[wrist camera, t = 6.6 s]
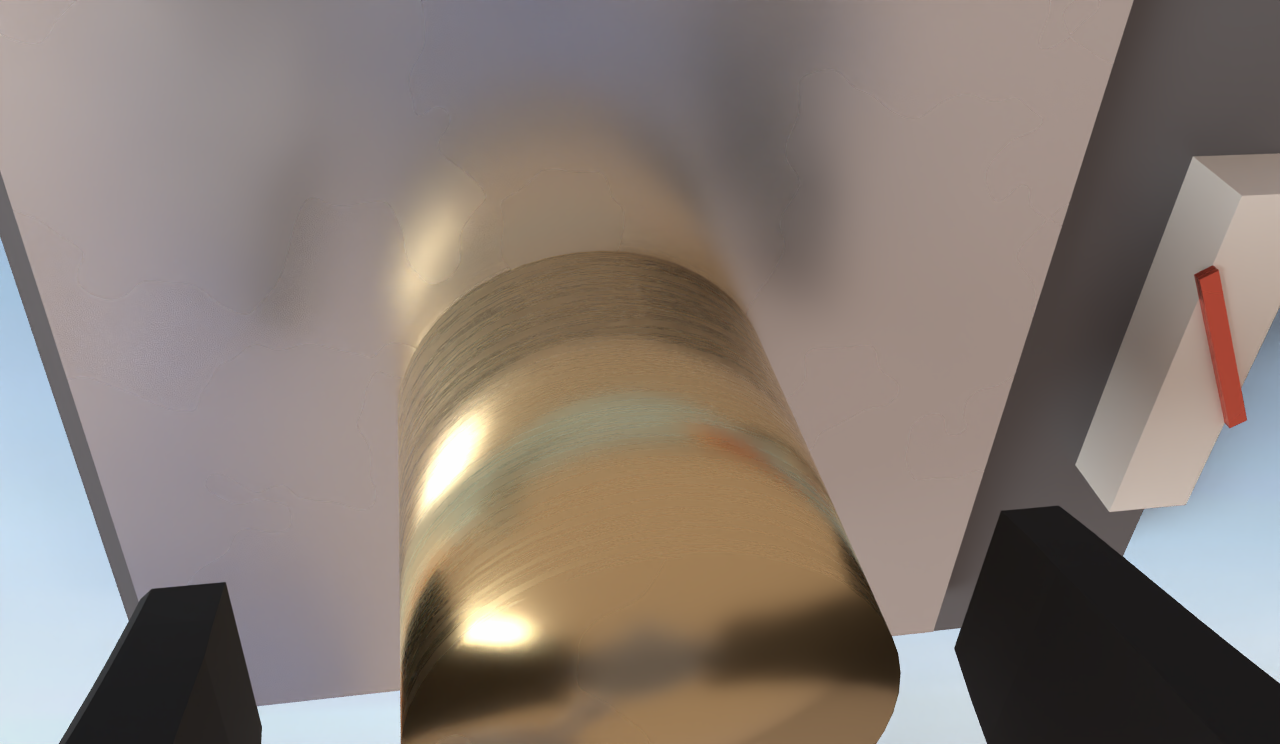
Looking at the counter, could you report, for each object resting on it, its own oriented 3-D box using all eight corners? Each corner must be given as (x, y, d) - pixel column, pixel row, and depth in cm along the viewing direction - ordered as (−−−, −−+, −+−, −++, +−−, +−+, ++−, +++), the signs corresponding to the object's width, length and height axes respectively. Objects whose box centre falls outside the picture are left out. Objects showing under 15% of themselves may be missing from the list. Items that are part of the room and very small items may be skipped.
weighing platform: (918, 601, 18) (932, 631, 17) (181, 678, 16) (175, 714, 15) (1113, -51, 12) (1143, -32, 11) (-42, -51, 10) (-64, -29, 9)
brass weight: (760, 516, 15) (873, 825, 11) (426, 565, 14) (439, 904, 11) (775, 229, 12) (930, 518, 9) (367, 276, 12) (356, 604, 8)
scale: (1043, 528, 21) (1131, 666, 18) (180, 611, 18) (147, 783, 16) (1314, -193, 13) (1522, -127, 11) (-63, -226, 11) (-197, -150, 8)
